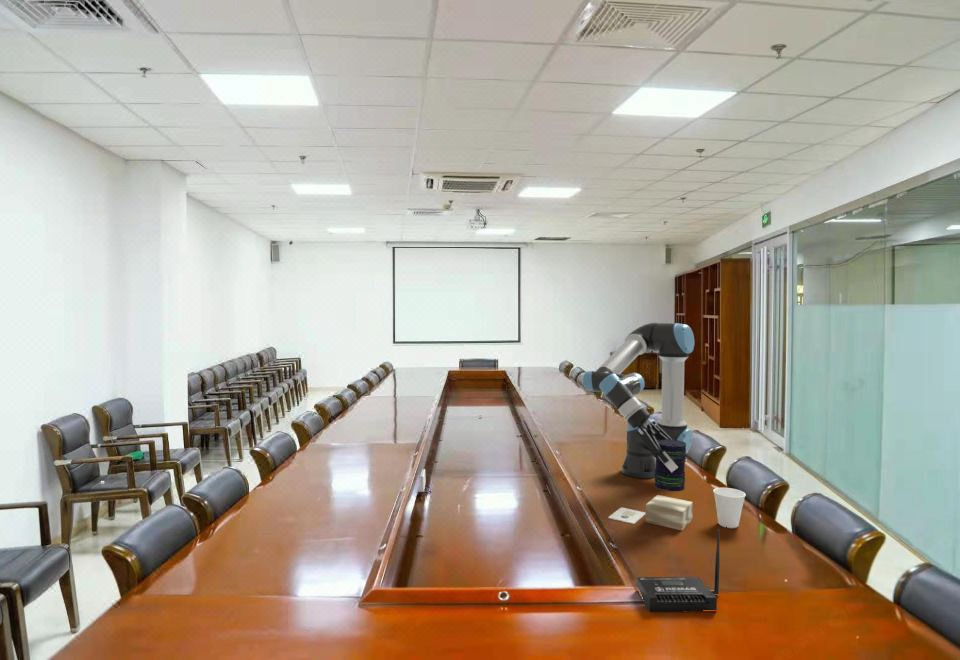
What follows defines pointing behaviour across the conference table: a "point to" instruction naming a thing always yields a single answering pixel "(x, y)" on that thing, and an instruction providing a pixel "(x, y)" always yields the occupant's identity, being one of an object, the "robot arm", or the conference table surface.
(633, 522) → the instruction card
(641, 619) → the conference table surface
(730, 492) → the cup
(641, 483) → the conference table surface
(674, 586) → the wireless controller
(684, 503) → the base block
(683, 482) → the storage jar
